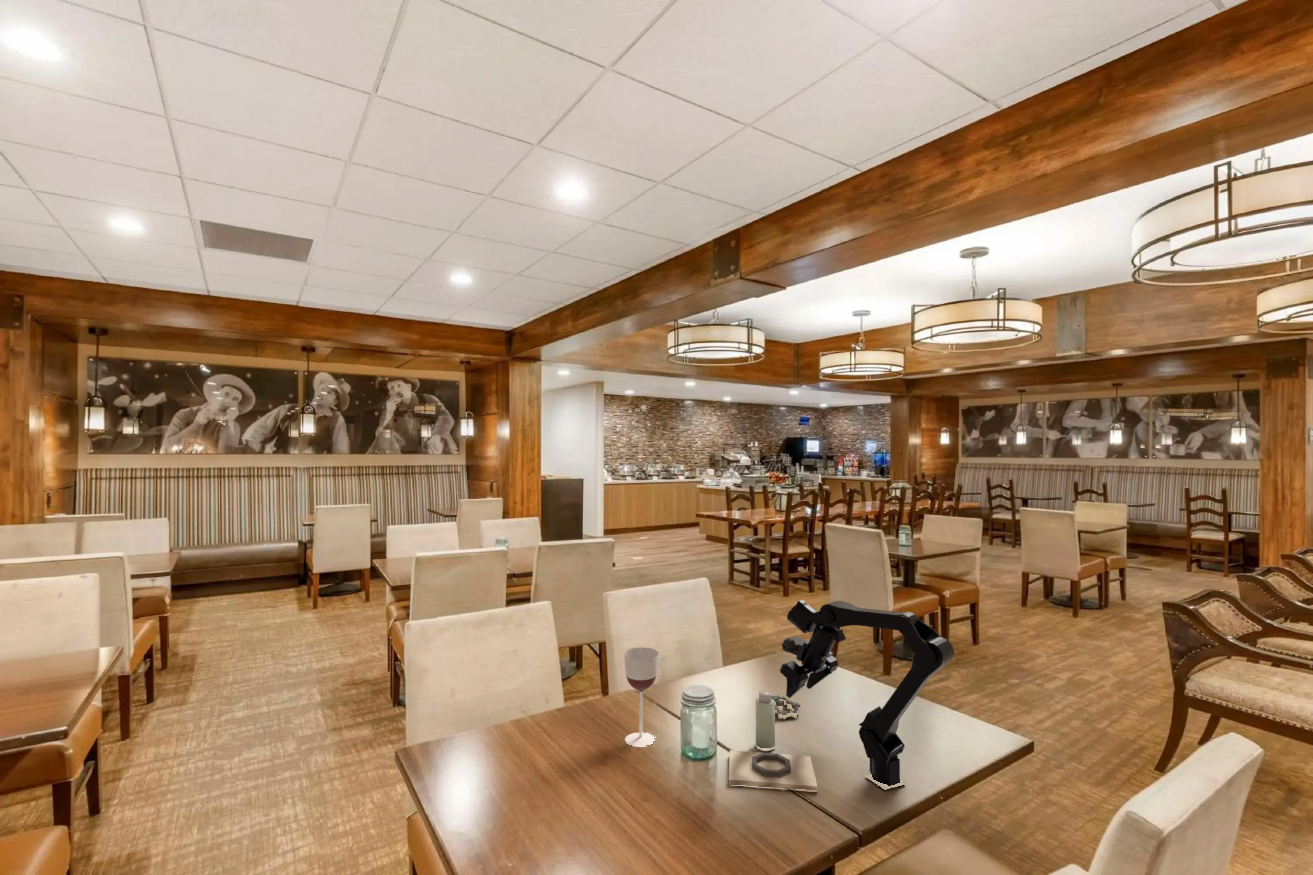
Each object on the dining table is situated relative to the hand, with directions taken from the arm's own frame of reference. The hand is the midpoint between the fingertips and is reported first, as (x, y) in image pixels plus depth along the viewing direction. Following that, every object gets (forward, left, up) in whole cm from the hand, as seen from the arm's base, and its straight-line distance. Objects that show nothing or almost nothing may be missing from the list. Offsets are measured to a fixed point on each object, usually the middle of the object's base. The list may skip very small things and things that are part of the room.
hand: (798, 692), depth 159 cm
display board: (-9, +15, -14) cm, 22 cm away
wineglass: (+19, +38, -14) cm, 44 cm away
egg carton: (+19, -8, -14) cm, 26 cm away
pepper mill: (+3, +9, -14) cm, 17 cm away
